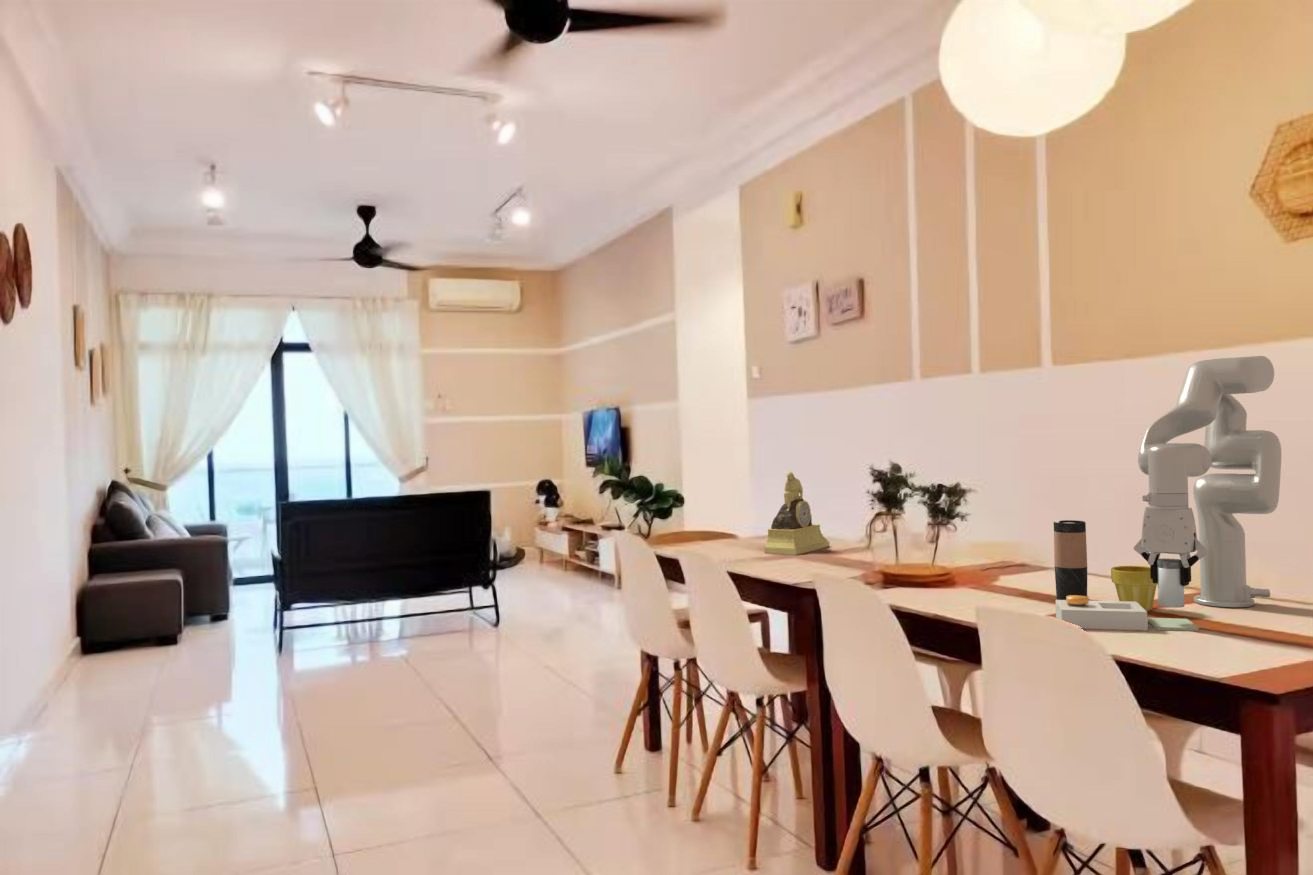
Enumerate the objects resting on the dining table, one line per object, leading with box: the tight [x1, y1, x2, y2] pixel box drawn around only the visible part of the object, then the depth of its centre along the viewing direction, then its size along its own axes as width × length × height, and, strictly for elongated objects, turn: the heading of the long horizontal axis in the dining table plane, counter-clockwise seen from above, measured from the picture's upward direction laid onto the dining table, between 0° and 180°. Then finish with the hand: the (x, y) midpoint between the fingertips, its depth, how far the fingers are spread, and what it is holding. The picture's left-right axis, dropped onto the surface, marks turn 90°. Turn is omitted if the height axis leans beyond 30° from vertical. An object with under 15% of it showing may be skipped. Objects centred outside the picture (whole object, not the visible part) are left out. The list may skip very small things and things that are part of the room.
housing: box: [1055, 599, 1149, 631], centre depth 205 cm, size 17×12×4 cm
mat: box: [1147, 617, 1200, 632], centre depth 201 cm, size 8×10×1 cm
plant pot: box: [1110, 565, 1158, 612], centre depth 220 cm, size 10×10×10 cm
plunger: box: [1066, 595, 1090, 607], centre depth 207 cm, size 5×5×4 cm
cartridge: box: [1157, 558, 1185, 609], centre depth 201 cm, size 5×5×10 cm
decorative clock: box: [763, 471, 830, 556], centre depth 348 cm, size 28×13×30 cm, turn 143°
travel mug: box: [1053, 519, 1088, 600], centre depth 233 cm, size 8×8×20 cm
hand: (1170, 582), depth 201 cm, fingers closed on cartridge, 5 cm apart
